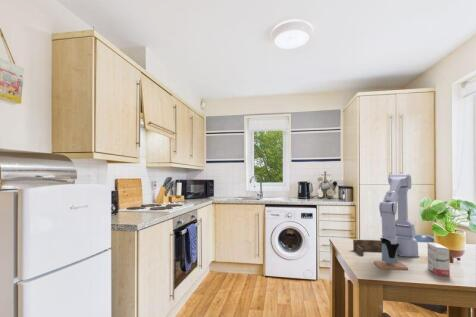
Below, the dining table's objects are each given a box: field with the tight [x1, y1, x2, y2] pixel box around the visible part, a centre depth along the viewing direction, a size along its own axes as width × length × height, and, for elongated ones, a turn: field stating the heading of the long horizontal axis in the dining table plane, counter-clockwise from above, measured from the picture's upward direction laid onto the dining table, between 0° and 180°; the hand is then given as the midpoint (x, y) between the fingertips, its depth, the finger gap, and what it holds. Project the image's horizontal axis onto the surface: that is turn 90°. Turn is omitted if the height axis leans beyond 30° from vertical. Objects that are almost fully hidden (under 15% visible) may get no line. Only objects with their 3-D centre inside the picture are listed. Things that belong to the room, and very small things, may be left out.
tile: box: [372, 260, 409, 271], centre depth 122 cm, size 12×8×1 cm, turn 83°
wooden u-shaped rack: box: [352, 239, 383, 257], centre depth 141 cm, size 20×10×6 cm, turn 83°
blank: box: [381, 243, 398, 264], centre depth 122 cm, size 4×5×8 cm
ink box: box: [427, 242, 451, 277], centre depth 115 cm, size 9×5×12 cm, turn 168°
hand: (389, 255), depth 122 cm, fingers closed on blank, 6 cm apart
